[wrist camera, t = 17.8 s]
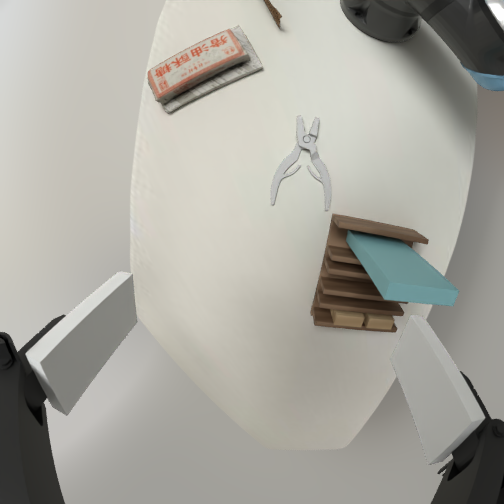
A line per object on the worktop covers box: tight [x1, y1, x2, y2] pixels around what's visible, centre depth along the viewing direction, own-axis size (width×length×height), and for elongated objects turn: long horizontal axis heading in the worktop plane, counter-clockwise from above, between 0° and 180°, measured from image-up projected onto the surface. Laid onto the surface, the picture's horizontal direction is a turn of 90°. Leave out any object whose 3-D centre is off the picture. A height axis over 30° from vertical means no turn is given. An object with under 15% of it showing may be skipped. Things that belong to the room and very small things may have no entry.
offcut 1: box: [330, 309, 365, 327], centre depth 45 cm, size 2×5×6 cm, turn 83°
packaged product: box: [148, 25, 263, 113], centre depth 36 cm, size 18×5×10 cm
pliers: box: [271, 115, 331, 211], centre depth 41 cm, size 10×2×15 cm
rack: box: [310, 214, 429, 332], centre depth 44 cm, size 19×16×6 cm
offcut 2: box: [362, 312, 395, 330], centre depth 45 cm, size 2×5×6 cm, turn 83°
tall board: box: [346, 230, 459, 306], centre depth 34 cm, size 2×10×20 cm, turn 83°
